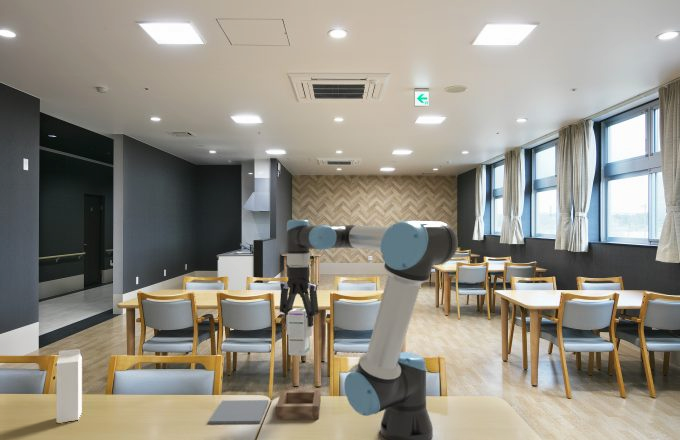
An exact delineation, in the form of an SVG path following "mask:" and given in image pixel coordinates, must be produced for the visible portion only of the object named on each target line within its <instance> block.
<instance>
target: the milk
mask: <svg viewBox="0 0 680 440" xmlns="http://www.w3.org/2000/svg"><path fill="white" fill-rule="evenodd" d="M55 388H56V405H55V406H56V412H55V413H56V419H55V421H56V422H63V421H71V420H78V419H79V420H80V418H81V416H82V414H81V413H83V357H82V354H81V349H80V348H79V349H68V350H59V351H58V357H57V360H56V387H55ZM80 415H81V416H80ZM79 417H80V418H79ZM79 420H78V421H79Z"/></svg>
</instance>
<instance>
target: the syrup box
mask: <svg viewBox="0 0 680 440" xmlns="http://www.w3.org/2000/svg"><path fill="white" fill-rule="evenodd" d="M306 316H307V314H306V311H305V307H304V308H303V307H302V308H301V307H299V308H298V307H297V308H293V307H292V310H291V311H289V312H288V342H287V343H288V344H287V345H288V355H289V356H299V357H300V356H301V357H305V356H307V354H308V353H309V352H310V349H311V348H310V346H311V345H310V341H311V340H310V336H309V337H305V317H306Z"/></svg>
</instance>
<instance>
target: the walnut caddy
mask: <svg viewBox="0 0 680 440" xmlns="http://www.w3.org/2000/svg"><path fill="white" fill-rule="evenodd" d="M321 394H322V393H321V389H311V390H310V389H308V390H307V389H304V390H303V389H302V390H300V389H299V390H294V389H293V390H291V389H290V390H287V389H285V390H283V389H282V390H281V392H280V394H279V397H278V400H277V403H276V406H275V419H276V420H318V419H319V418H320V410H321V403H322V402H321V397H322V395H321Z"/></svg>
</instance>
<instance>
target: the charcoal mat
mask: <svg viewBox="0 0 680 440" xmlns="http://www.w3.org/2000/svg"><path fill="white" fill-rule="evenodd" d="M268 404H269V400H268V399H263V400H262V399H261V400H257V399H256V400H255V399H254V400H253V399H252V400H247V399H246V400H245V399H244V400H238V399H237V400H222V401H221V402H220V404H219V405H218V407H217V408H216V410H215V411H214V413H213V414H212V415H211V417H210V418H209V420H208V424H209V425H213V424H214V425H219V424H220V425H223V424H227V425H228V424H229V425H231V424H232V425H233V424H234V425H235V424H237V425H238V424H261V422H262V420H263V418H264V417H263V416H264V415H265V412H266V409H267V406H268Z"/></svg>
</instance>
